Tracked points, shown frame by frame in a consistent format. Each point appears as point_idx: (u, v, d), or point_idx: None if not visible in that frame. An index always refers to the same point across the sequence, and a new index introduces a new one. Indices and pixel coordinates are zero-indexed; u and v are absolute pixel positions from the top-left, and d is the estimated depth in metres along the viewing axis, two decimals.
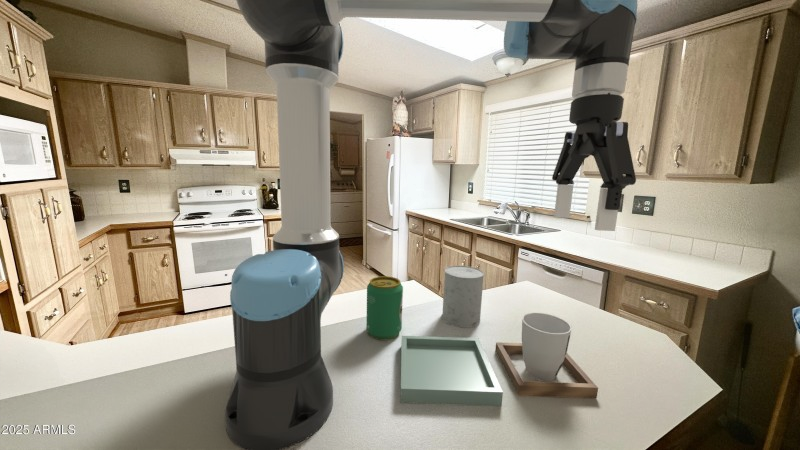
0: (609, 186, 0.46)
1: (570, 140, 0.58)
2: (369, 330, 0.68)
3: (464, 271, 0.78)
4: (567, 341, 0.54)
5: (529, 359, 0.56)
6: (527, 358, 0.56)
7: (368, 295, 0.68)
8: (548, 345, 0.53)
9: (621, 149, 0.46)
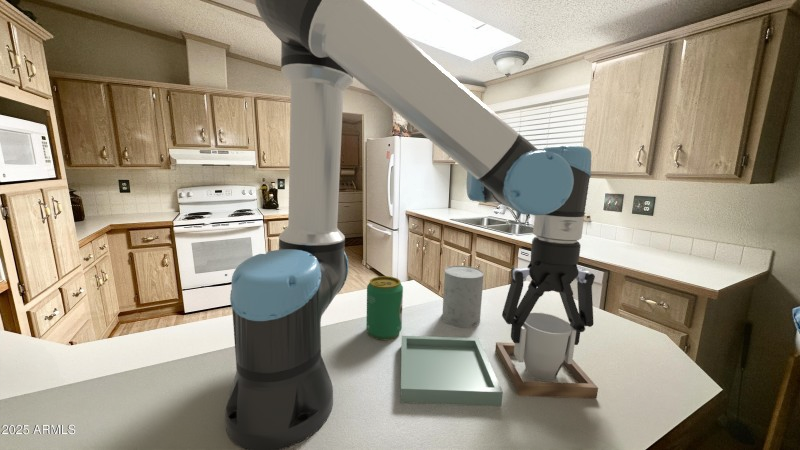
0: None
1: (577, 277, 0.56)
2: (369, 330, 0.68)
3: (464, 271, 0.78)
4: (567, 341, 0.54)
5: (529, 359, 0.56)
6: (527, 358, 0.56)
7: (368, 295, 0.68)
8: (548, 345, 0.53)
9: (510, 293, 0.56)
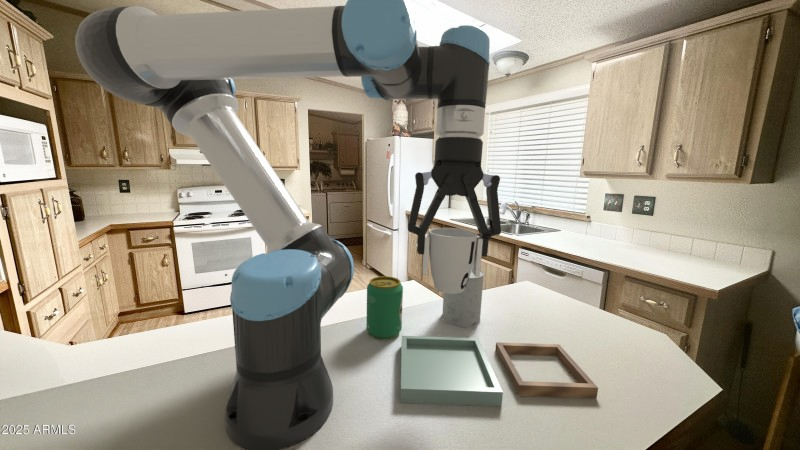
0: None
1: None
2: (369, 330, 0.68)
3: None
4: (470, 247, 0.50)
5: (434, 270, 0.52)
6: (432, 270, 0.53)
7: (368, 295, 0.68)
8: (448, 250, 0.49)
9: (413, 199, 0.52)
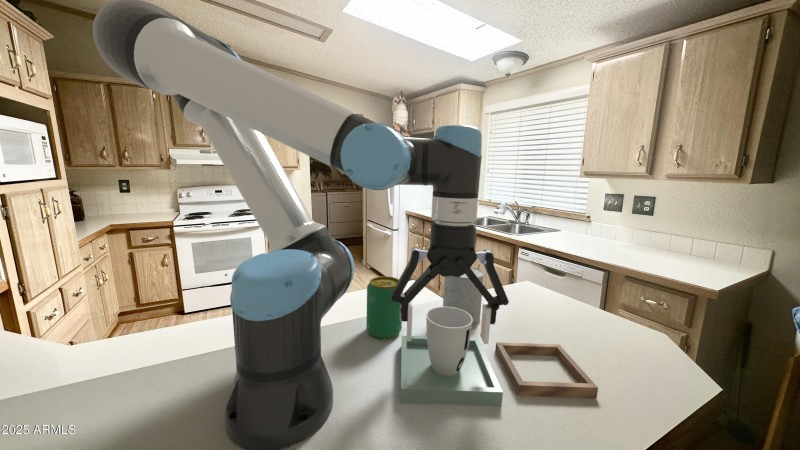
0: None
1: None
2: (369, 330, 0.68)
3: None
4: (465, 335, 0.53)
5: (431, 354, 0.55)
6: (429, 353, 0.55)
7: (368, 295, 0.68)
8: (445, 339, 0.52)
9: (404, 271, 0.54)
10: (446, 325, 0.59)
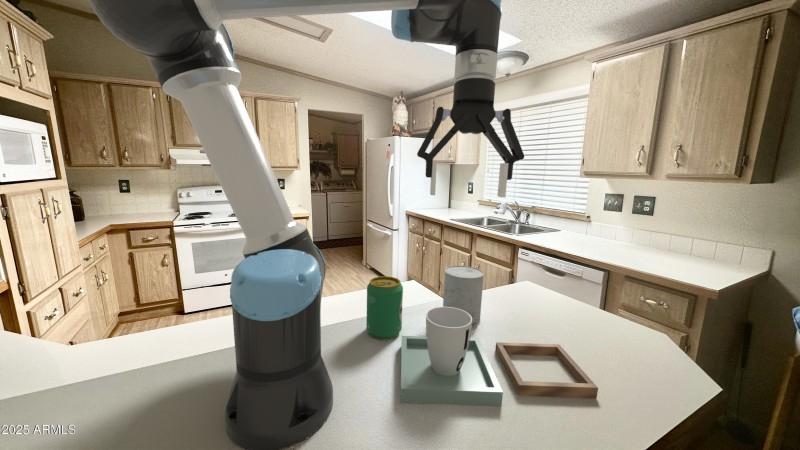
0: None
1: None
2: (369, 330, 0.68)
3: (464, 271, 0.78)
4: (465, 335, 0.53)
5: (430, 354, 0.55)
6: (429, 353, 0.55)
7: (368, 295, 0.68)
8: (444, 339, 0.52)
9: None
10: (446, 325, 0.59)
